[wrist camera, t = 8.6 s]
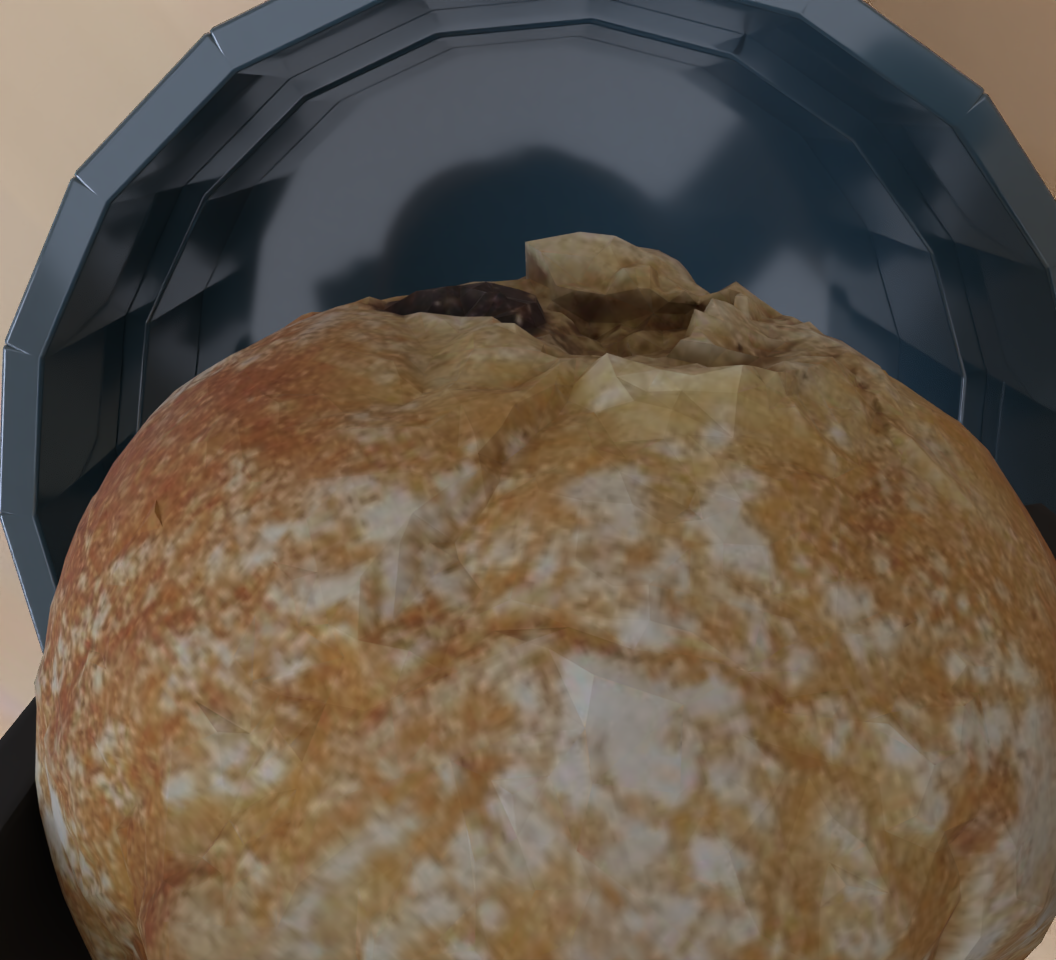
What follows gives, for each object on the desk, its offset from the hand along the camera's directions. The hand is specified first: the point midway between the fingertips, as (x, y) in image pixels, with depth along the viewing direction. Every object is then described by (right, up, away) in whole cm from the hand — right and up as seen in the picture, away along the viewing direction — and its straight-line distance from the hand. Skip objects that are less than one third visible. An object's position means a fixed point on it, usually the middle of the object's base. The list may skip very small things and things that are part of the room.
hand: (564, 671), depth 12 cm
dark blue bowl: (0, +4, +10) cm, 11 cm away
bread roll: (0, 0, 0) cm, 0 cm away
